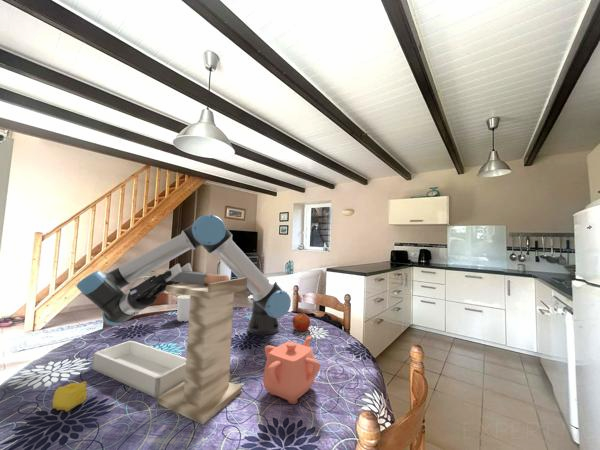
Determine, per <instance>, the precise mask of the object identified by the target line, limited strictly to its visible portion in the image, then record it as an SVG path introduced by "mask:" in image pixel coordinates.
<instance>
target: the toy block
mask: <svg viewBox="0 0 600 450" xmlns="http://www.w3.org/2000/svg"><path fill="white" fill-rule="evenodd" d="M87 393H88V391H87V381H81V382H70V383H68V384H65V385H64V386H62V385H61V386H58V387H56V390H55V392H54V393H53V394H54V395H53V397H52V398H53V399H52V405H51V406H52V408H53V409H56V411H60V410H63V411H64V412H65V413H67V411H68V412H70V411H71V410H72V409H74V408H75V407H77V406H79V405H81V404H82V403H83V402H85V401H86V400H87V396H88V394H87Z"/></svg>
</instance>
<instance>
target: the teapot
mask: <svg viewBox="0 0 600 450" xmlns="http://www.w3.org/2000/svg"><path fill="white" fill-rule="evenodd" d="M312 337H313V335H311V334H310V335H308V336H307V337H306V338H305V340H304V342H303V344H301V343H297V342H294V341H286V342H283V343H281V344H280V345H277V346H275V345H265V348H264V352H265V357H266V362H265V366H264V371H263V378H262V379H263V380H262V381H263V383H262V384H263V387H264V390H265V391H267V392H269V394H270V395H271V396H277V397H279V398H282V399H284V400H286V401H287V402H288V403H289V404H291V405H296V404H297V403H298V402H299V401H298V399H299V398H300V397H302V396H304V395H305V394H306V393H307V392H309V391H310V388H312V386H313V384H314V382H315V381H316V380H315V379H316V375H317V374H318V373H319V372H320V370H321V363H320V361H318V360H316V359H315V355H314V350H313V347H311V345H310V343H311V340H312Z"/></svg>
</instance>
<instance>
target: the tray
mask: <svg viewBox="0 0 600 450" xmlns="http://www.w3.org/2000/svg"><path fill="white" fill-rule="evenodd" d="M91 369H92V370H93V371H96V372H98V373H100V374H103V375H105V376H106V377H108V378H111V379H113V380H116V381H118V382H120V383H122V384H124V385H126V386H129V387H131V388H133V389H135V390H137V391H139V392H141V393H144V394H146V395H148V396H151V397H152V398H155V399H158V397H159V396H161V395H163V394H164V393H166V392H168V391H169V390H171V389H173V388H174V387H176V386H178V385H179V384H181V383H183V382H185V369H186V357H184V356H182V355H181V356H180V355H177V354H175V353H171V352H169V351H166V350H162V349H160V348H156V347H153V346H151V345H148V344H144V343H141V342H137V341H134V340H128V341H125V342H122V343H119V344H116V345H112V346H110V347H106V348H104V349H100V350H97V351H95V352H93V354H92V364H91Z"/></svg>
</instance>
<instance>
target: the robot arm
mask: <svg viewBox="0 0 600 450" xmlns="http://www.w3.org/2000/svg"><path fill="white" fill-rule="evenodd" d="M199 247H203V249H205V250H206V252H207V253H208V254H209V255H216V256H217V257H218V259H220V261H221V262H222V263H223V264H225V266H226V267H227V268H228V269H229V270H230V271H231V272H232V273H233V274H234V275H235V276H236V278H237V279H238V278H244V277H246V278H247V289H248V290H249V291H250V293H252V313H251V317H250V319H249V321H248V325H247V331H248V333H250V334H253V335H257V336H264V335H265V336H268V335H269V336H270V335H273V334H276V333H277V332H279V330H280V323H279V320H278V319H280V318H282V317H284V316H286V314H287V313H288V312H289V311H290V308H291V304H292V303H291V302H292V300H291V299H292V298H291V297H290V294H288V292H287V291H285V290H283V289H282V288H281V287H280V286H279V285H278V283H277V281H274V280H273V279H268V277H266V276H265V274H264V273H263V272H262V271H261V270H260V269H259V268H258V267H257V265H256V264H254V262H252V260H251V259H250V258H249V257H248V256H247V255H246V254H245V253H244V251H243V250H242V249H241V248H240V247H239V246H238V245H237V244H236V242H235V241H234V240H233V234H232V232H230V230H229V229H228V228H227V227H226V225H225V222H224V221H223V219H221V218H220V217H218V216H217V215H214V214H203V215H201V216H199V217H198V218H196V219H195V220H194V222H192V224H191V225H190V226H188V227H187V228H184V229H183V230H181V233H180V234H178V235H177V236H175V237H173V238H171V239H170V240H167V241H165V242H163V243H162V244H160V245H158V246H156V247H154V248H152V249H150V250H149V251H146V252H145V253H143V254H141V255H139V256H138V257H135V258H133V259H132V260H130V261H128V262H125V263H124V264H123V265H121V266H119V267H117V268H115V269H113V270H111V271H109V272H107V273H106V274H105V273H103V272H102V271H101V270H95V271H93V272H92V273H90V274H88V275H87V276H85V277H84V278H83V279H81V280H80V281H78V283H77V284H76V288H77V290H79V292H81V294H82V295H84V296H85V297H86V298H87V299H89V300H90V301H91V302H92V303H93V304H94V305H96V306H97V308H99V309H100V310H101V311H102V315H101V317H102V320H103V322H104V323H105V324H106V325H108V326H118V325H121V324H123V323H125V322H127V321H128V320H130V319H131V318H133V317H134V316H137V315H140V314H139V313H140V312H142V311H143V310H145V309H147V308H148V307H149V306H151V305H153V304H154V303H155V302H156V299H157V298H158V296H159V295H161V294H162V293H164V292H166V286H168V285H174V284H181V283H180V282H173V281H169V280H171V279H172V278H174V277H175V276H177V275H178V274H180V273H181V272H182V270H183V271H192V272H193V269H192V265H191V262H187V263H186V264H185V265H183V266H181V264H180V263H176V264H175V265H173V266H172V267H171V268H169V269H167V270H168V271H166V270H165V273H164V272H163V273H162V274H160V273H159V274H158V275H152V276H150V277H149V278H147V279H145V280H144V281H142V282H141V283H139V284H137V285H136V286H134V287H132V288H130V289H129V291H128V292H127V293H125V292H124V291H123V290H121V289H122V288H124V287H126V286H128V285H130V284H131V283H133V282H135V281H136V280H138V279H140V278H142V277H143V276H145V275H147V274H148V273H150V272H153V271H154V270H156V269H158V268H160V267H161V266H163V265H165V264H166V263H168V262H170V261H172V260H174V259H176V258H177V257H179V256H181V255H183V254H184V253H186V252H188V251H190V250H196V249H198V248H199Z"/></svg>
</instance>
